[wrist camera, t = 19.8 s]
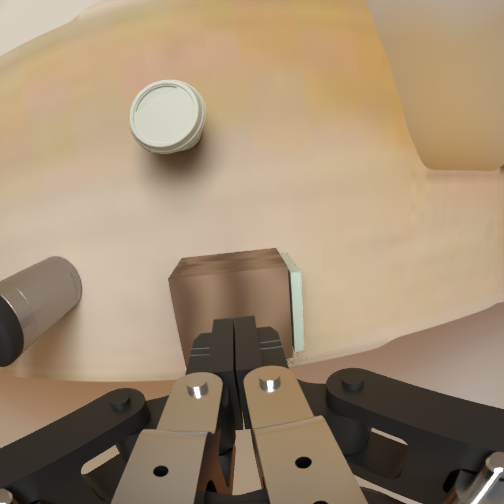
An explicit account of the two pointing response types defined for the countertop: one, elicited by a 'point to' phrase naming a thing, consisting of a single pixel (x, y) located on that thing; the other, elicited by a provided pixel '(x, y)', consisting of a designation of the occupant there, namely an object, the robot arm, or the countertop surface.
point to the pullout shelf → (295, 303)
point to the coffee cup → (167, 117)
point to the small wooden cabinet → (231, 294)
